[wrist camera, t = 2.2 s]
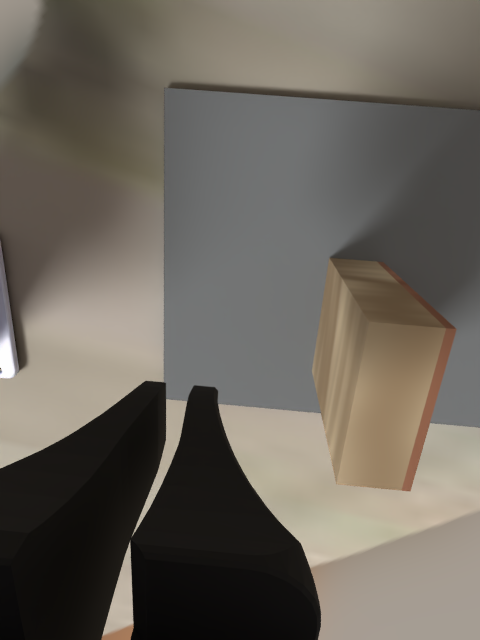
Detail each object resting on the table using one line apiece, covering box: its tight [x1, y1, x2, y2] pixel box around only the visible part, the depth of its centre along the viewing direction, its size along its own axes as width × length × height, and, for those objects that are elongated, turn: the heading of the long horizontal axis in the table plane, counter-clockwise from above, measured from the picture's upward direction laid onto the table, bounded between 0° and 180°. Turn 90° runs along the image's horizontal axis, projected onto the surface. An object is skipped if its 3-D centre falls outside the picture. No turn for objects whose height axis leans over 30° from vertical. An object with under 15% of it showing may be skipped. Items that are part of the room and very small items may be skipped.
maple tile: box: [312, 258, 457, 491], centre depth 17 cm, size 2×6×8 cm, turn 176°
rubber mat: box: [164, 88, 480, 428], centre depth 20 cm, size 20×15×1 cm
